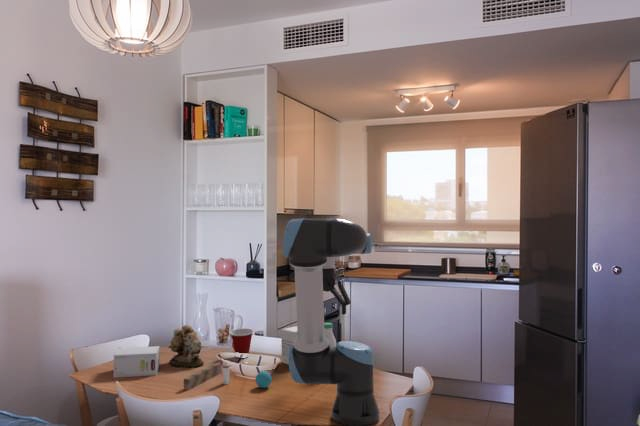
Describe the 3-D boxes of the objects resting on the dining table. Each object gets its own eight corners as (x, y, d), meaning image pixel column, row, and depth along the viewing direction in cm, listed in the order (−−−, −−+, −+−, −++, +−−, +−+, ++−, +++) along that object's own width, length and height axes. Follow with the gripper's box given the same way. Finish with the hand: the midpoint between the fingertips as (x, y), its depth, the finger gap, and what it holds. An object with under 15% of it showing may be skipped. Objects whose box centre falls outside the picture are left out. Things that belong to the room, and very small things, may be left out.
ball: (267, 390, 200) (267, 374, 200) (252, 389, 202) (252, 373, 202) (274, 386, 206) (274, 370, 206) (260, 384, 208) (259, 368, 208)
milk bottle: (338, 374, 221) (338, 324, 221) (319, 375, 219) (319, 325, 220) (334, 369, 228) (334, 321, 228) (316, 369, 227) (316, 322, 227)
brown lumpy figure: (160, 364, 237) (160, 325, 237) (179, 358, 247) (179, 321, 248) (191, 370, 228) (191, 329, 228) (210, 363, 238) (210, 324, 239)
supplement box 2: (296, 359, 245) (296, 325, 245) (309, 362, 238) (309, 328, 238) (280, 362, 239) (280, 328, 239) (294, 366, 232) (293, 331, 232)
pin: (227, 384, 208) (227, 362, 208) (221, 384, 209) (221, 361, 209) (230, 382, 210) (230, 360, 210) (224, 382, 211) (224, 360, 211)
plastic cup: (225, 358, 245) (225, 332, 246) (237, 353, 256) (237, 327, 256) (246, 361, 242) (246, 334, 242) (257, 355, 252) (257, 329, 252)
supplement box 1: (113, 378, 218) (113, 354, 218) (118, 369, 231) (118, 347, 231) (156, 375, 221) (156, 352, 221) (159, 366, 234) (159, 345, 234)
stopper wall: (188, 390, 201) (188, 379, 201) (183, 389, 202) (183, 379, 202) (221, 372, 224) (221, 363, 224) (217, 372, 224) (217, 362, 224)
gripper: (358, 267, 212) (358, 322, 212) (300, 265, 221) (300, 318, 221) (352, 269, 205) (352, 325, 205) (292, 267, 214) (292, 321, 214)
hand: (325, 321), depth 213 cm, fingers open, 13 cm apart
